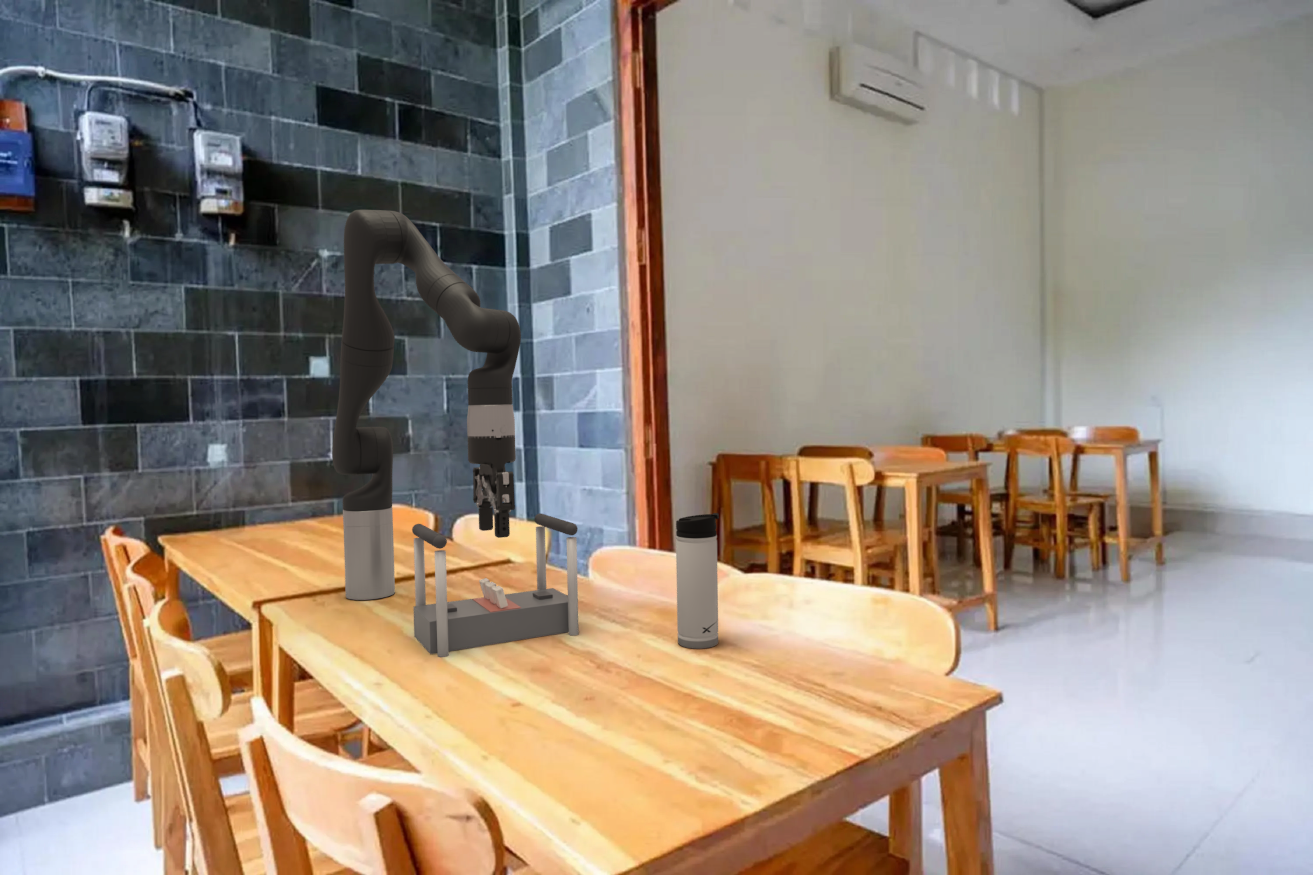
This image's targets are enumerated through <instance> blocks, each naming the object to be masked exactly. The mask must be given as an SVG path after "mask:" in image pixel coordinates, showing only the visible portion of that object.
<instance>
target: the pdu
mask: <svg viewBox="0 0 1313 875" xmlns="http://www.w3.org/2000/svg"><path fill="white" fill-rule="evenodd" d="M577 543H578V542H577V536H569V537H566V570H567V571H566V573H567V575H566V576H567V577H566V580H567V594H566V593H563V592H561V591H559V590H558V589H555V588H553V587H550V588H547V563H546V562H547V560H546V556H547V555H546V554H547V553H546V527H544V526H541V525H539V526H535V546H536V547H535V548H536V550H535V553H536V554H535V555H536V583H537V584H536V587H537V588H536V590H528V591H521V592H513V593H504V594H505V597H506V601H507V604H508V606H506V607H504V608H499V607H498V606H497V604H496V603H495V604H493V603H492V602H490V599H488V600H487V599H486V598H484V596H483V597H476V598H475V597H474V598H468V599H460V600H455V601H454V600H451V601H448V590H447V589H448V586H447V584H448V582H447V554H446V553H447V551H446V550H444V549H441V550H440V549H439V550H435V551H434V572H435V573H434V578H435V579H434V580H435V584H434V585H435V603H429V604H427V603H426V600H427V599H426V598H427V597H426V596H427V595H426V566H425V564H426V563H425V562H426V561H425V541H424V540H422V539H421V538H419V537H414V538H413V560H414V562H413V563H414V594H415V595H414V596H415V599H414V600H415V605H414V606H413V609H412V610H413V611H412V612H413V635H414V638H415V640H417V641H418V642H419V643H420V645H421V646H422V647H423V648H424V649H425V650H426V651H427V652H428V653H429V654H430V655H433V654H437V657H439V658H445V657H448V656H449V652H452V651H453V652H454V651H459V650H465V649H473V648H478V647H484V646H490V645H491V646H492V645H496V644H503V643H504V644H505V643H509V642H517V641H521V640H522V641H523V640H527V639H534V638H539V637H547V636H552V635H558V634H566V633H568V636H578V635H579V632H580V631H579V598H578V596H579V594H578V590H579V588H578V587H579V586H578V585H579V584H578V583H579V582H578V548H577V546H578V544H577Z"/></svg>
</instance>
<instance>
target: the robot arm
mask: <svg viewBox="0 0 1313 875" xmlns="http://www.w3.org/2000/svg"><path fill="white" fill-rule="evenodd" d="M343 259H344V260H343V262H344V263H343V264H344V268H343V269H344V304H343V305H344V306H343V307H344V308H343V309H344V310H343V322H342V323H343V324H342V332H341V344H340V362H339V363H340V364H339V366H340V369H339V370H340V371H339V393H338V402H337V411H336V416H335V417H336V418H335V423H334V424H335V425H334V431H333V439H332V440H333V441H332V452H331V454H332V456H331V457H332V458H331V459H332V465H333V467H334V470H335V471H336V473H338V474H339V475H345V476H351V475H353V476H355V475H371V479H370V480H369V481H368V482H367V483H366V484H364V485H363V486H362V487H360V488H357V489H355V490H353V491H350V492H348V493H346V494H344V495H343V497H342V521H343V522H342V523H343V551H344V552H343V553H344V583H345V585H344V586H345V587H344V588H345V597H346V599H349V600H357V601H364V600H377V599H382V598H383V599H384V598H387V597H390V596H393V595H394V594H395V592H396V590H395V588H396V587H395V586H396V584H395V550H394V548H395V545H394V521H393V520H394V519H393V518H394V517H393V513H394V512H393V465H394V464H393V463H394V461H393V460H394V444H393V439H392V434H391V432H390V431H389V429H388V428H386V426H385V427H384V426H358V427H357V425H358V422H359V419H360V416H361V414H362V412H363V410H364V408H365V407H366V405H367V404H368V403H369V401H370V400H371V398H372V397H373V396H374V395H375V394H376V393H377V391H379V389H380V388H381V387H382V386H383V384H384V382H385V381H386V379H388V377H389V375H390V373H391V371H392V368H393V362H394V351H395V339H396V338H395V332H394V330H393V327H392V324H391V323H390V320H389V318H388V316H387V314H386V313H385V310H384V309H383V307H382V306H381V303H380V302H379V299H378V297H377V294H376V290H375V267H376V265H390V264H391V265H392V264H398V263H399V264H401V265H403V266H405V267H407V268H409V269H410V270H412V272H414V273H415V285H416V289H417V292H418V294H419V296H420V298H421V299H422V300H423V302H424V303H425V304H426V305H427V306H428V307H429V308H430V309H431V310H432V311H434V313H436V314H437V315H438V316H439V317H440V318H441V319H443V320H444V322H445V324H446V327H447V329H448V330H449V332H450V334H451V336H452V337H453V338H454V340H455V341H456V343H457V344H458V345H459V346H461V347H462V348H464V349H466V350H467V351H469V352H472V353H473V352H474V353H485V354H486V357H485V361H484V365H483V366H482V367H477V368H475V369H473V370H471V371H470V372H469V373H468V376H467V403H468V406H467V408H468V410H467V417H466V423H467V424H466V426H467V427H466V431H467V433H466V434H467V461H468V463H469V464H473V465H479V466H478V467H473V469H472V474H473V475H472V485H473V486H472V489H473V490H472V491H473V493H472V494H473V496H472V500H473V503H474V504H475V505H476V508H478V528H479V531H481V532H483V531H484V532H485V531H492V530H494V536H495V538H500V539H501V538H508V537H510V534H511V533H510V532H511V531H510V528H511V527H510V514H511V512H512V511H514V510H515V508H516V504H515V503H516V502H515V484H514V483H515V479H514V477H515V476H514V472H513V471H512V470H511V471H506V466H505V465H506V464H509V463H511V464H512V463H514V462H515V461H516V456H517V454H516V422H515V413H514V405H513V377H514V373H515V370H516V365H517V360H518V357H519V351H520V349H521V348H520V347H521V340H522V339H521V338H522V334H521V333H522V332H521V326H520V324H519V321H518V320H517V318H516V317H515V315H514V314H512V313H511V312H509V311H507V310H502V309H494V308H488V307H487V308H486V307H481V299H480V296H479V295H478V292H476V290H474V288H473V287H471V285H469V284H468V283H467V282H465V280H463V279H462V278H461V277H460V276H459V275H458V274H457V273H455V272H454V271H453V270H452V269H451V268H450V267H449V266H448V265H447V264H446V263H444V261H443V260H442V259H441V258H440V257H439V255H438V254H437V253H436V251H435V250H434V248H432V246H431V245H430V243H429V242H428V241H427V240H426V239H425V237H424V236H423V234H422V233H421V232H420V231H419V229H418V228H417V226H416V225H415V224H414V223H413V222H412V221H411V220H410V219H409V218H408V217H407V216H406V215H404V214H403V213H402V212H399V211H395V210H385V209H384V210H380V209H356V210H353V211H352V212H350V214H348V217H347V218H346V221H345V225H344V231H343Z"/></svg>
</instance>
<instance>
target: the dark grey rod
mask: <svg viewBox="0 0 1313 875" xmlns="http://www.w3.org/2000/svg"><path fill="white" fill-rule="evenodd" d="M534 522H535V523H536V524H537V525H539V526H544V527H545V528H548V529H551V530H553V531H556V532H559V533H562V534H564V535H567V536H574V535H576V534H577V533H578V525H577V524H576V523H574V522H570V521H568V520H564V519H562V518H557V517H554V516H552V515H547V514H544V513H537V514H536V515H534Z"/></svg>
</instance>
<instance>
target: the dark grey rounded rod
mask: <svg viewBox="0 0 1313 875" xmlns="http://www.w3.org/2000/svg"><path fill="white" fill-rule="evenodd" d="M411 531H412V534H413V535H414V536H416V538H421V539H422V540H424V542H426V543H427V544H429V545H430V546H433V547H434V548H436V549H439V550H440V549H441V550H442V549H444V548H445V547H446V546H447V543H448V541H447V540H448V539H447V538H446V536H444V535H443V534H441V533H439V532H437V531H435V530H433V529H431V528H430V527H428V526H426V525H423V523H415V524H414V525H413V526H412V529H411Z"/></svg>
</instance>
